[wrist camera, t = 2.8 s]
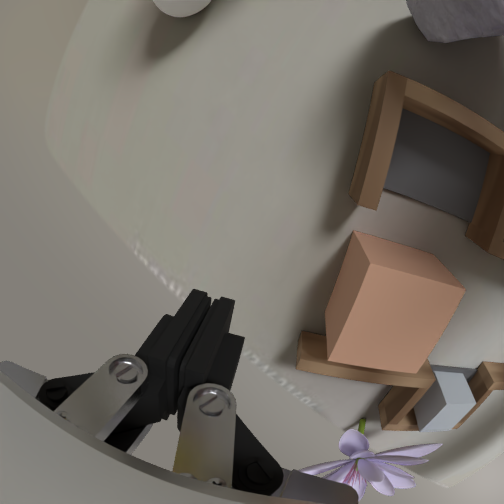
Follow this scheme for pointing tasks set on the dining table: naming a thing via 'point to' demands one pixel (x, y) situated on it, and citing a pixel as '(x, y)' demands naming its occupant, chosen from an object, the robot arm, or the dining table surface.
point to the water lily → (372, 464)
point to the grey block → (444, 402)
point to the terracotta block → (388, 305)
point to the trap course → (479, 231)
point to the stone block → (458, 18)
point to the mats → (437, 174)
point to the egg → (181, 7)
